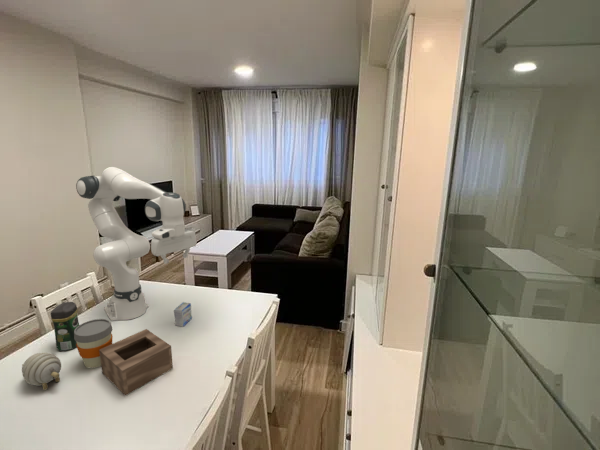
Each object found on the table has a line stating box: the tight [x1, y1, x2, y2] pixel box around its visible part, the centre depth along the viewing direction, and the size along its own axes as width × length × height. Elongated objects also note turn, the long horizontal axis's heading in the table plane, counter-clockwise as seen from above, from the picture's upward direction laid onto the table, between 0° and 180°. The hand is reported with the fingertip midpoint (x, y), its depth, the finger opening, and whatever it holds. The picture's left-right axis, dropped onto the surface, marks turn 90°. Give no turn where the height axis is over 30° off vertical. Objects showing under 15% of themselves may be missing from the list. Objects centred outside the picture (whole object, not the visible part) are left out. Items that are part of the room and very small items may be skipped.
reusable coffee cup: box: [74, 318, 113, 369], centre depth 127 cm, size 13×13×15 cm
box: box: [99, 328, 174, 396], centre depth 122 cm, size 18×18×10 cm
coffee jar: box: [50, 301, 80, 352], centre depth 135 cm, size 10×8×19 cm
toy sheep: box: [21, 352, 62, 391], centre depth 115 cm, size 11×17×11 cm, turn 72°
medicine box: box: [173, 301, 193, 327], centre depth 156 cm, size 8×4×9 cm, turn 168°
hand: (176, 260), depth 144 cm, fingers open, 8 cm apart
